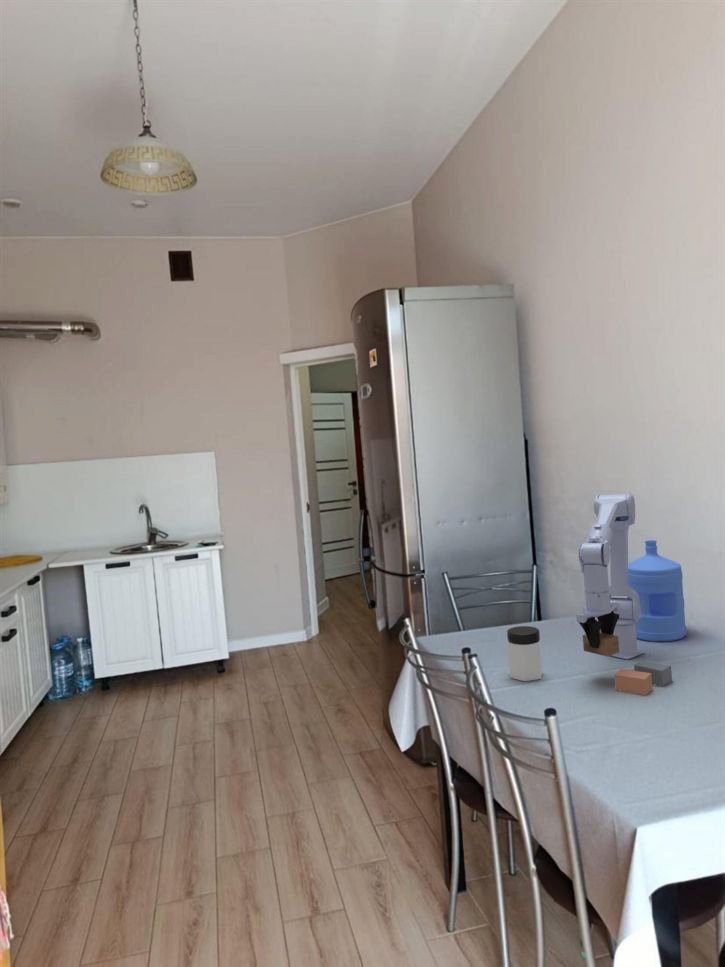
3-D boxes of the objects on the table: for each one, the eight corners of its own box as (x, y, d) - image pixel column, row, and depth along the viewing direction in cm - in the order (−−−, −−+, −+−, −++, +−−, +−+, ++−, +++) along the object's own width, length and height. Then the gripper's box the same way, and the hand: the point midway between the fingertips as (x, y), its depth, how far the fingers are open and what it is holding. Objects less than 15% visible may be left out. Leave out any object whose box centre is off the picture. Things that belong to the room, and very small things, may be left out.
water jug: (643, 625, 207) (636, 536, 206) (695, 631, 195) (688, 538, 194) (619, 637, 196) (612, 544, 195) (673, 645, 185) (666, 546, 183)
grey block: (635, 681, 161) (633, 665, 161) (644, 676, 164) (643, 660, 164) (663, 687, 156) (661, 670, 156) (672, 682, 159) (671, 665, 159)
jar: (513, 669, 177) (509, 625, 177) (544, 670, 174) (541, 625, 174) (508, 681, 169) (504, 634, 168) (540, 682, 166) (536, 635, 165)
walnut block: (583, 650, 165) (582, 635, 165) (595, 646, 168) (593, 631, 167) (608, 656, 159) (606, 640, 159) (619, 652, 162) (618, 636, 162)
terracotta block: (615, 691, 156) (614, 674, 156) (622, 685, 160) (621, 668, 160) (645, 696, 152) (644, 679, 151) (652, 690, 155) (651, 673, 155)
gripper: (601, 583, 170) (605, 635, 171) (564, 594, 162) (568, 648, 163) (625, 586, 164) (629, 640, 165) (588, 598, 156) (593, 654, 157)
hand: (601, 645), depth 163 cm, fingers closed on walnut block, 4 cm apart
